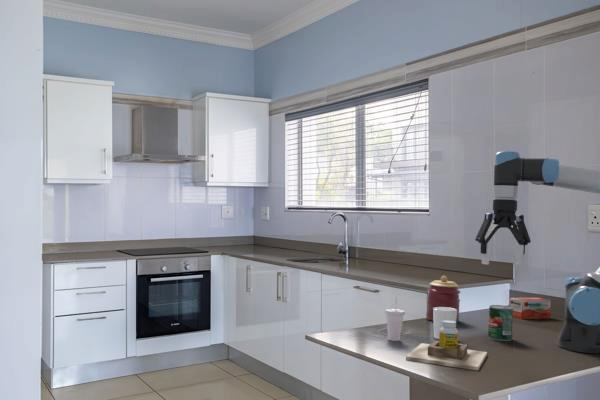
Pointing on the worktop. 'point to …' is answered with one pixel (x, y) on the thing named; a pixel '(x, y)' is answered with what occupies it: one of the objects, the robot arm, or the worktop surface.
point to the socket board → (448, 356)
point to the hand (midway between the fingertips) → (502, 264)
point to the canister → (442, 296)
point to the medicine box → (531, 308)
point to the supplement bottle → (448, 335)
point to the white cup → (442, 318)
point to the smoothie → (394, 322)
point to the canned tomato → (500, 322)
